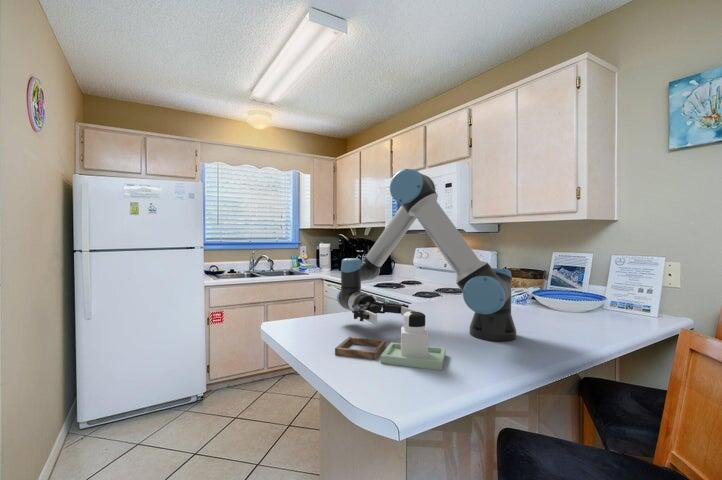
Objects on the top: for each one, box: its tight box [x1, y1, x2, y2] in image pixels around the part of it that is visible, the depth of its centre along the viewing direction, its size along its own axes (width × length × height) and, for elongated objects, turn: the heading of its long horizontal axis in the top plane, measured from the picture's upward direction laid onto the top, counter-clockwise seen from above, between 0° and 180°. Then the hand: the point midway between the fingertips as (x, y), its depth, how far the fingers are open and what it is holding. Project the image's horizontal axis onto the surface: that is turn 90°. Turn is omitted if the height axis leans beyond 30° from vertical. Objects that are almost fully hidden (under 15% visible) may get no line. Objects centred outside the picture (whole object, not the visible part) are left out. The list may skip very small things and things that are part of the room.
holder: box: [334, 336, 387, 360], centre depth 103 cm, size 12×12×2 cm
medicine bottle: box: [400, 310, 429, 359], centre depth 96 cm, size 7×7×12 cm
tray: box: [380, 341, 447, 371], centre depth 96 cm, size 16×12×2 cm
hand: (395, 316), depth 104 cm, fingers open, 13 cm apart
